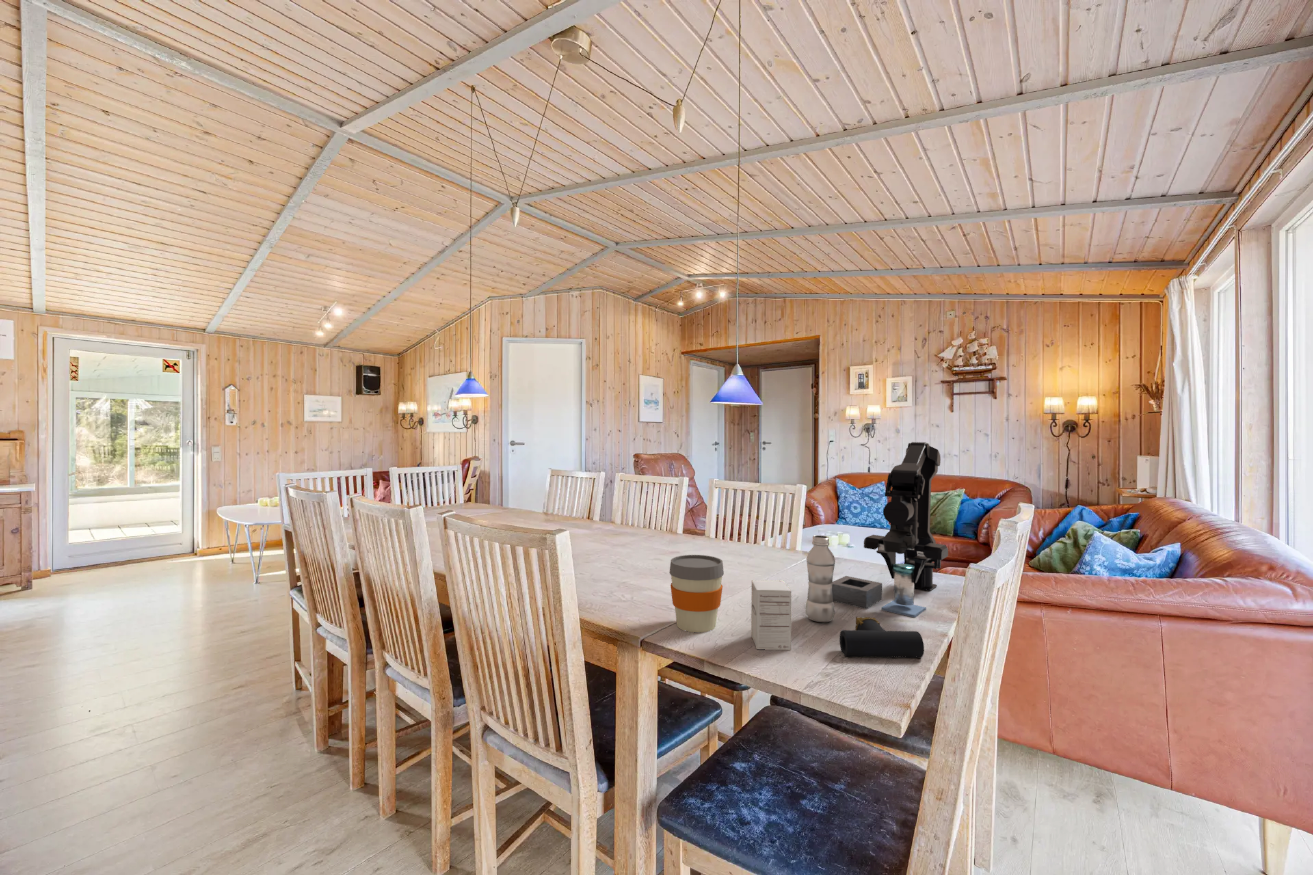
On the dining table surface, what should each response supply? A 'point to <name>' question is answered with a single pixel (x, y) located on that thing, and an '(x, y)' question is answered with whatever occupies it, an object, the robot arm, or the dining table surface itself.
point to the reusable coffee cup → (696, 591)
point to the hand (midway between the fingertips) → (904, 580)
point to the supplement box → (771, 615)
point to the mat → (904, 609)
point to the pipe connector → (879, 641)
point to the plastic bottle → (820, 581)
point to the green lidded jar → (903, 584)
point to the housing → (856, 592)
